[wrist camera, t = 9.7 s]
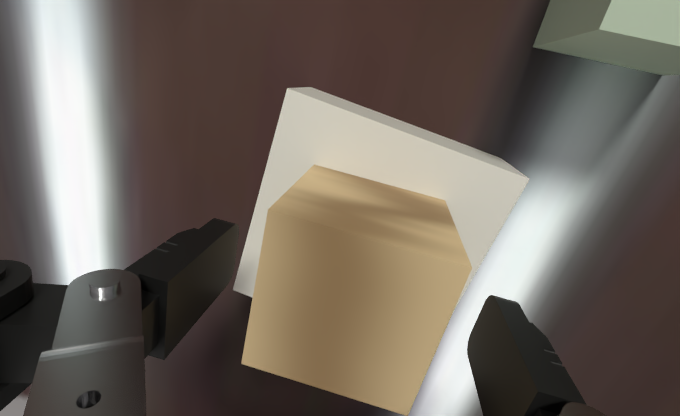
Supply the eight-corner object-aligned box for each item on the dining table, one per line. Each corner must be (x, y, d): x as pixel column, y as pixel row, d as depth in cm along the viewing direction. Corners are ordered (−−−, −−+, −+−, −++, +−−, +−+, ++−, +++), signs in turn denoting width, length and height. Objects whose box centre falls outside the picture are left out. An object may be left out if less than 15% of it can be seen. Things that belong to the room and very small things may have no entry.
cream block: (498, 156, 16) (529, 179, 12) (417, 309, 19) (422, 364, 15) (312, 87, 16) (287, 88, 12) (264, 250, 19) (232, 289, 16)
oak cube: (445, 200, 13) (472, 267, 8) (404, 309, 15) (407, 415, 10) (314, 164, 13) (268, 209, 8) (289, 275, 15) (241, 363, 10)
